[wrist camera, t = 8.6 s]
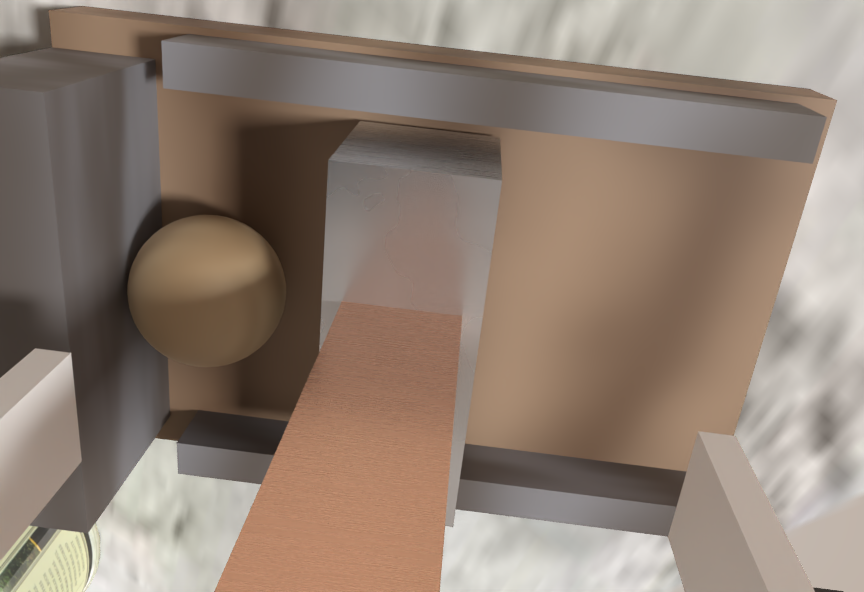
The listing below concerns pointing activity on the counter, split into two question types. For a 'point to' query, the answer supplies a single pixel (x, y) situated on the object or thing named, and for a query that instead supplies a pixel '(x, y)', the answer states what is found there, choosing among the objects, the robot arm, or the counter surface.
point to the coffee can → (51, 561)
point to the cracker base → (305, 234)
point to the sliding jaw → (382, 372)
